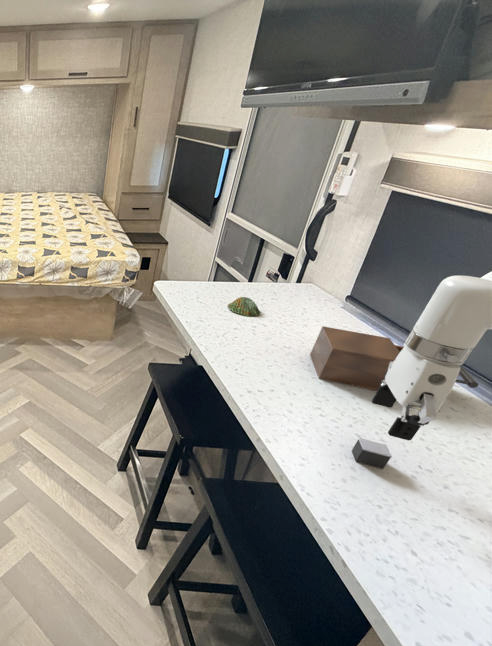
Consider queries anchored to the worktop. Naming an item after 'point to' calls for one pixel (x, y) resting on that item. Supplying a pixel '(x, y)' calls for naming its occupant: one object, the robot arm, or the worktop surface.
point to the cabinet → (352, 357)
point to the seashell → (244, 307)
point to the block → (371, 453)
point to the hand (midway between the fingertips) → (389, 420)
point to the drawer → (462, 374)
